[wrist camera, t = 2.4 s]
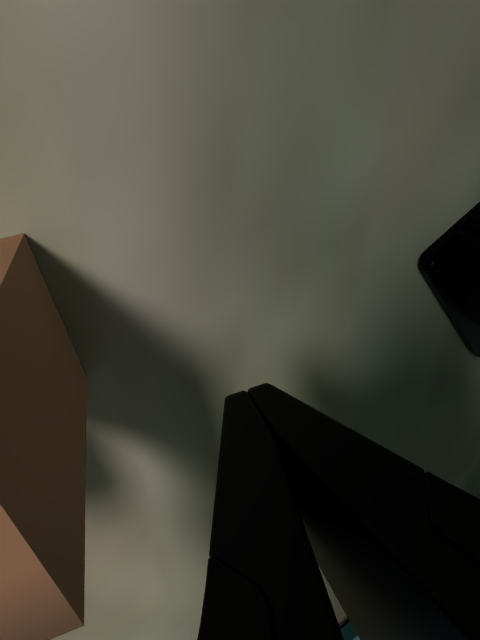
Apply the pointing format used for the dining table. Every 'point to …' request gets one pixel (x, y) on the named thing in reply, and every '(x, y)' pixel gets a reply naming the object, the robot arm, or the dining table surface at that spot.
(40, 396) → the domino
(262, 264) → the dining table surface
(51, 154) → the dining table surface
